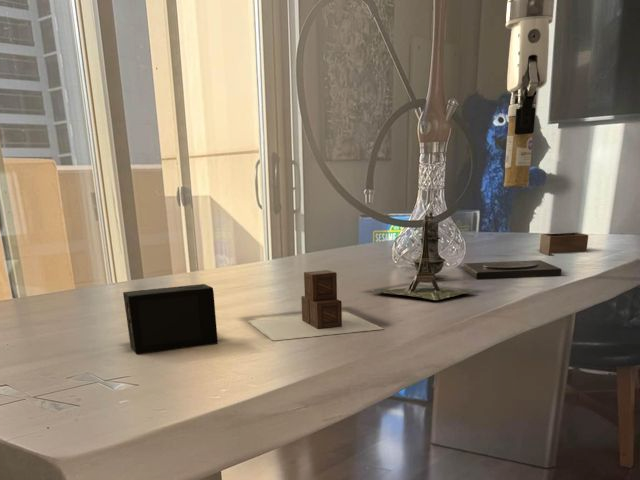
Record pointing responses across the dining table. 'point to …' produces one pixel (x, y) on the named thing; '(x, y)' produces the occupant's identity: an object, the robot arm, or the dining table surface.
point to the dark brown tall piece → (431, 248)
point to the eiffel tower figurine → (424, 278)
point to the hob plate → (511, 269)
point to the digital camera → (171, 318)
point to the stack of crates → (315, 312)
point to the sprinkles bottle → (517, 154)
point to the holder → (563, 243)
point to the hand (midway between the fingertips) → (520, 133)
